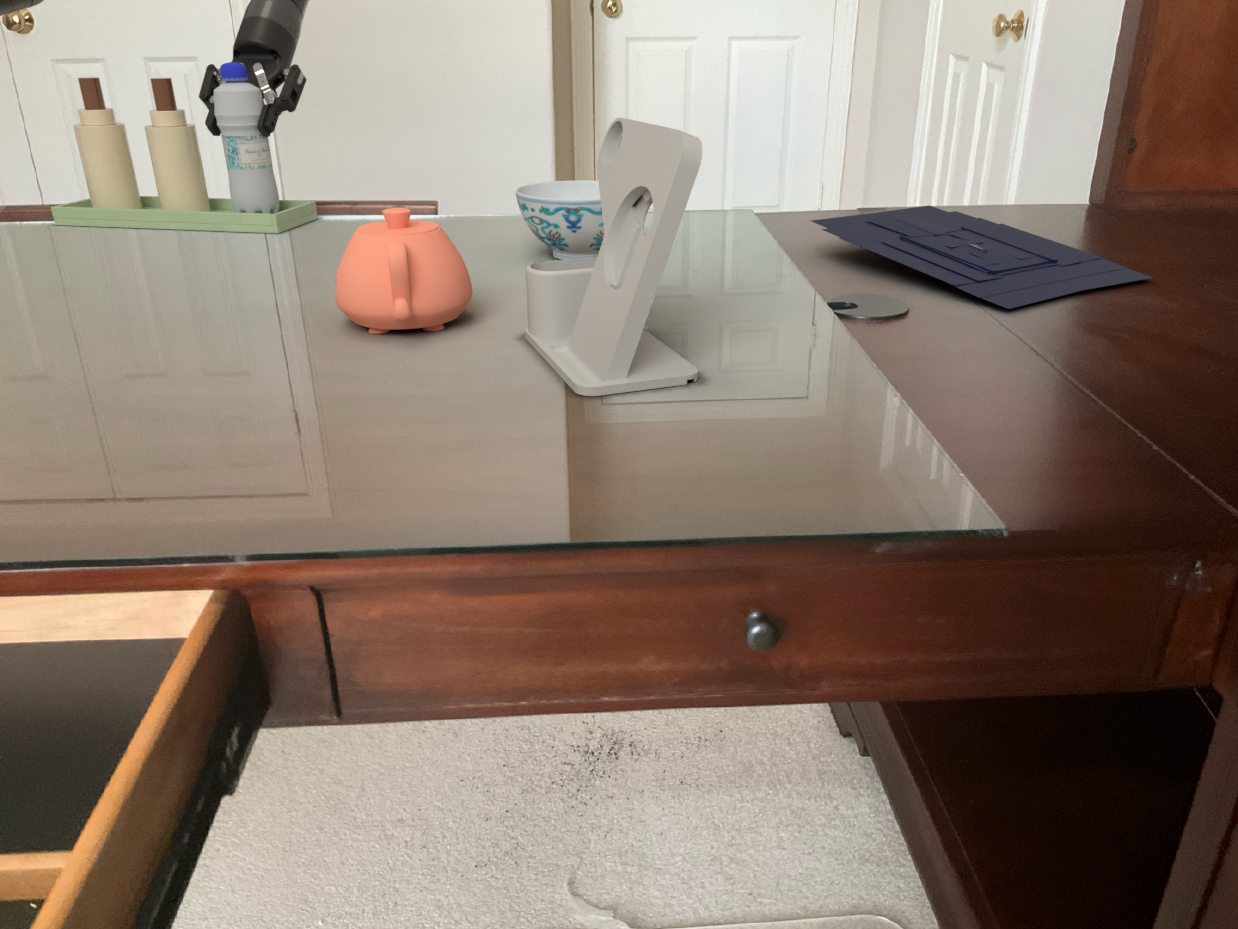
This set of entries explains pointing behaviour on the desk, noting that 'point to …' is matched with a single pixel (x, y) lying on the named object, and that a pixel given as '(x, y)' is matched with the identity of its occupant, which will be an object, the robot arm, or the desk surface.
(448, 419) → the desk surface
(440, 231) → the orange teapot
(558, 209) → the chinaware
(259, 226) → the tray
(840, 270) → the desk surface
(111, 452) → the desk surface
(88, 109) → the stoneware bottle
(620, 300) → the phone holder
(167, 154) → the stoneware bottle
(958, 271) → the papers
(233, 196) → the bottle
